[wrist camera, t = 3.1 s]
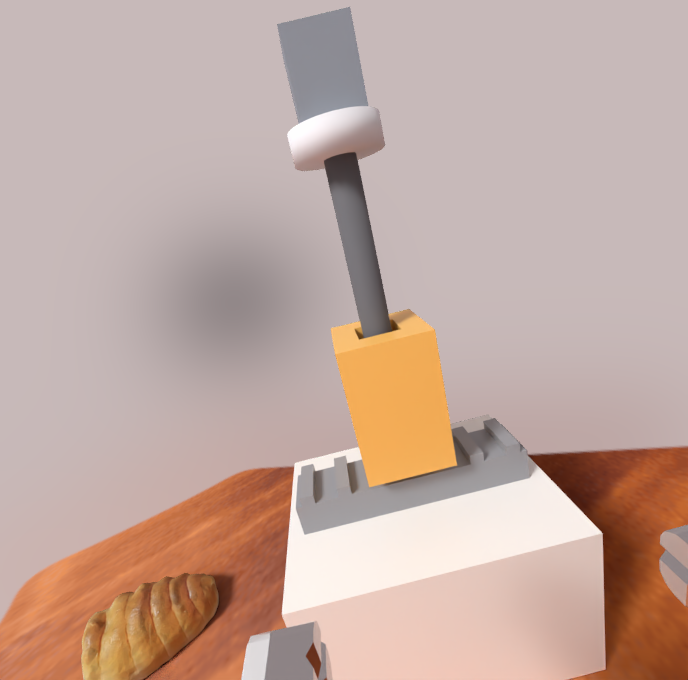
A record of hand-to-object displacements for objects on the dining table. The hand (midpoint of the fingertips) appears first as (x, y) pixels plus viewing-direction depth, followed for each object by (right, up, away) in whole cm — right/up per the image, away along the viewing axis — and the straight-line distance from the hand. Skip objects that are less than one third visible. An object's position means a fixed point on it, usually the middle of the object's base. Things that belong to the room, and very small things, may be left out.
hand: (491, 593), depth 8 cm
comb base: (+3, -13, +18) cm, 22 cm away
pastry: (-19, -18, +21) cm, 33 cm away
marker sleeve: (0, -1, +14) cm, 14 cm away
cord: (+1, -4, +15) cm, 15 cm away
